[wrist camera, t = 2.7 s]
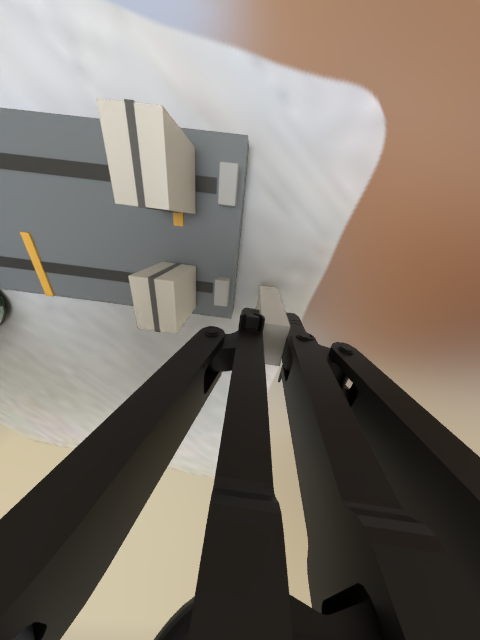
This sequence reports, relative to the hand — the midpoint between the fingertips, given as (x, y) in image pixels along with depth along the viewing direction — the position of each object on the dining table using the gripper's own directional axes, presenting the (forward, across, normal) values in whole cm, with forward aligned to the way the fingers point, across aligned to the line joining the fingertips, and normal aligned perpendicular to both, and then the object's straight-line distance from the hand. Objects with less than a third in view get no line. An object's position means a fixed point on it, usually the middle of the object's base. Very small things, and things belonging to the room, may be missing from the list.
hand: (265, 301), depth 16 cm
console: (+4, -16, +4) cm, 17 cm away
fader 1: (+1, -8, +8) cm, 11 cm away
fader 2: (+1, -8, 0) cm, 8 cm away
